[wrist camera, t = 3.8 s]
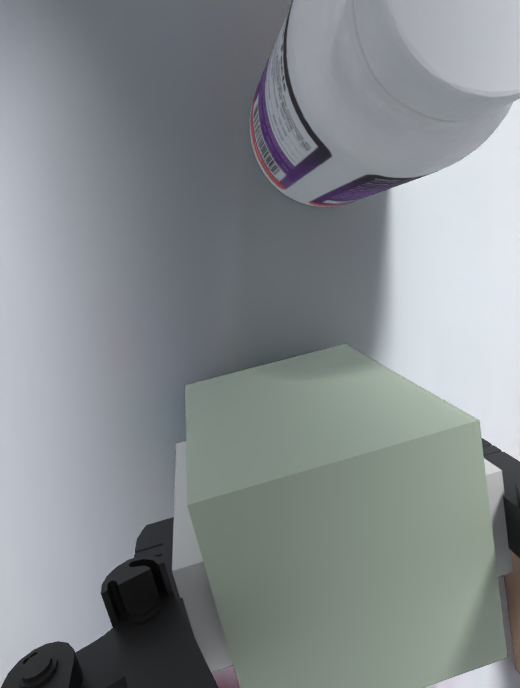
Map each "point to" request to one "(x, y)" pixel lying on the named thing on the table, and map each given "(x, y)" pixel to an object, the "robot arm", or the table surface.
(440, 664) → the green block
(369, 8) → the pill bottle
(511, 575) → the tower base
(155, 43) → the table surface
